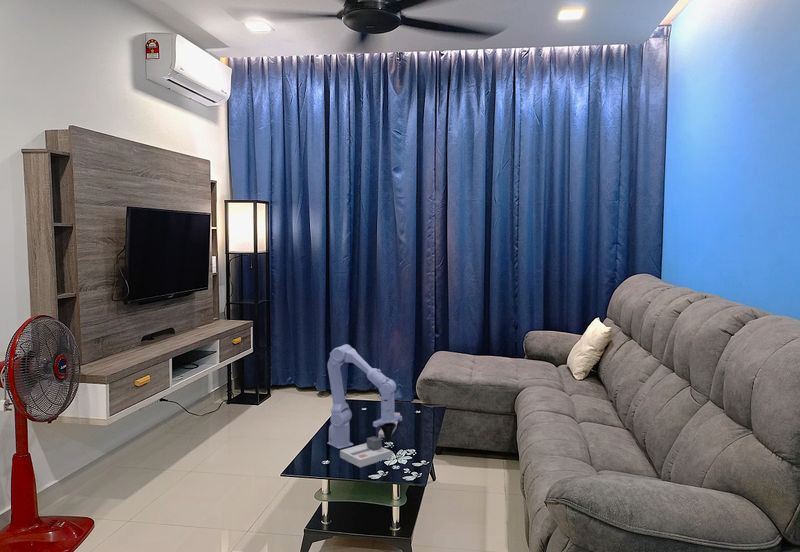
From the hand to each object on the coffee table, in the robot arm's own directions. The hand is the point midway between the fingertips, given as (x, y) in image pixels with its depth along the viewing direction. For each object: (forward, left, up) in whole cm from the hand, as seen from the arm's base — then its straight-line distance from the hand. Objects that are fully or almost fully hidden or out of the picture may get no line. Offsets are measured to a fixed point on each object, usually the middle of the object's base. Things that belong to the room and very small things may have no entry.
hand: (387, 440), depth 247 cm
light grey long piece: (-20, +17, -5) cm, 26 cm away
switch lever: (0, -7, -1) cm, 8 cm away
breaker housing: (0, -12, -5) cm, 13 cm away
